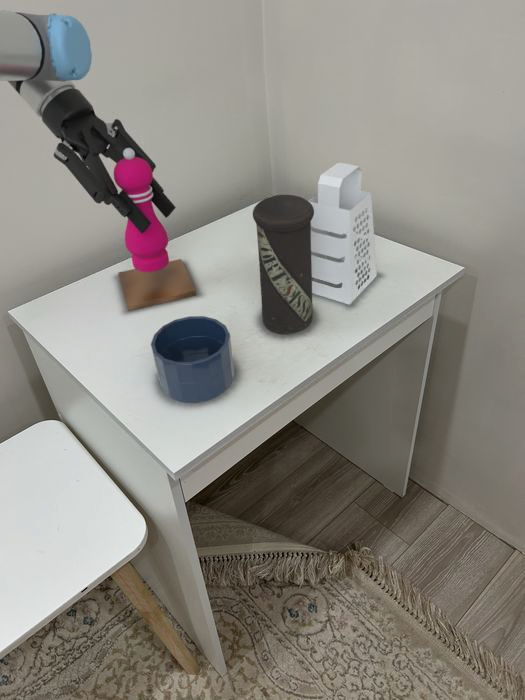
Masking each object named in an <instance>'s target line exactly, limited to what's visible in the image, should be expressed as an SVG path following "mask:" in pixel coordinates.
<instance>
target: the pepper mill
mask: <svg viewBox="0 0 525 700" xmlns="http://www.w3.org/2000/svg"><path fill="white" fill-rule="evenodd" d="M123 156H124V159H122V160H120V161H119V162H118V163H116V164H115V166H114V168H113V179H114V180H113V181H114V182H115V185H116V186H117V187H119V188H120V189H121V190H120V192H121V191H123V190H124V192H125V193H126V194H127V195H128V196H129V197H130V199H131V200H132V201H133V202H134V203H135V204H136V206H137V207H138V208H139V209H140V210H141V211H142V213H143V214H144V215H145V216H146V217H147V218H148V219H149V221H150V222H151V224H150V226H149V227H148V228H147V229H146V231H145V232H143V233H142V234H141V232H140V231H139V230H138V229H137V228H136V227H135V226H134V224H133V223H132V222H131V221H130V220H129V219H128V218H127V222H126V228H125V232H124V243H125V248H126V249H127V251H128V252H129V253H130V254H132V255H131V262H132V266H133V269H136V270H138V271H141V272H154V271H158V270H160V269H162V268H164V267H165V266H166V265H167V264H168V263H169V261H170V258H169V253H168V250H167V249H166V248H167V247H168V245H169V237H168V233H167V230H166V229H165V227H164V225H163V224H162V222H161V221H160V220H159V218H158V217H157V215H156V212H155V209H154V206H153V202H152V200H151V198H152V197H153V192H152V187H151V186H150V183H151V182H152V179H153V178H154V172H153V173H152V170H151V167H150V165H149V164H148V163H147V162H146V161H145V160H144V159H142V158H139V157H135V152H134V150H133V149H131V148H126V149H125V150H124V151H123Z"/></svg>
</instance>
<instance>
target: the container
mask: <svg viewBox="0 0 525 700" xmlns="http://www.w3.org/2000/svg"><path fill="white" fill-rule="evenodd" d="M308 201H309V200H307V199H306V198H303V197H302V196H298V195H294V194H276V195H271V196H268V197H265V198H263V199H261V200H260V201H259V202H258V203H257V204H255V206H254V208H253V209H252V219H253V221H254V222H255V225H256V234H257V235H256V236H257V238H256V239H257V248H258V249H257V252H258V266H259V280H260V281H259V282H260V297H261V299H260V300H261V318H262V323H263V325H264V327H265V328H266V329H267V330H268V331H270V332H272V333H274V334H278V335H292V334H296V333H299V332H301V331H303V330H305V329H306V328H308V327H309V326H310V325H311V323H312V321H313V317H314V316H313V315H314V308H313V307H314V305H313V293H312V281H313V277H312V265H311V220H312V218H313V216H314V209H313V206H312V204H311V203H310V202H308Z"/></svg>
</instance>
